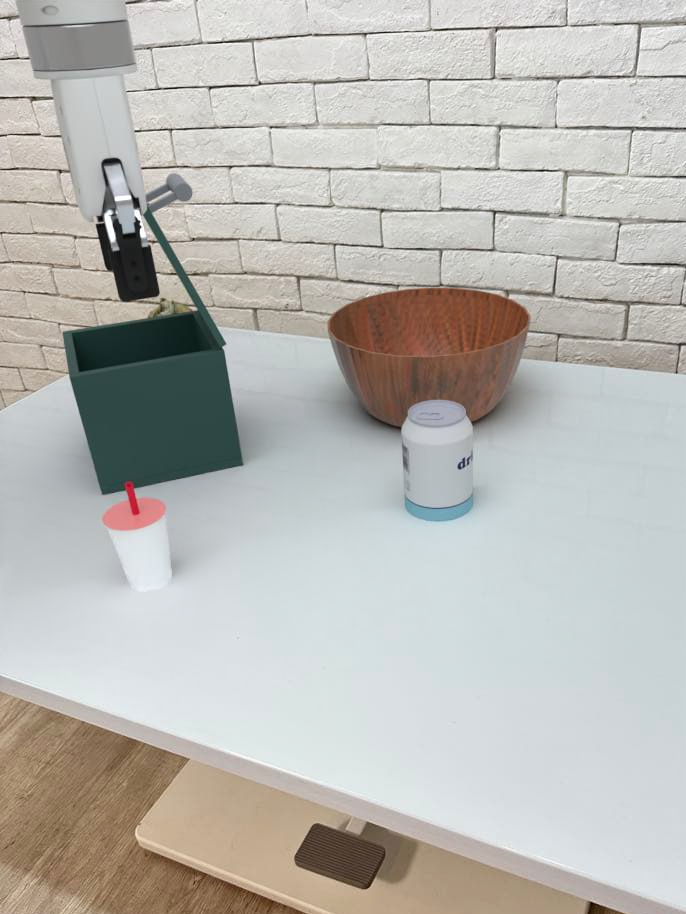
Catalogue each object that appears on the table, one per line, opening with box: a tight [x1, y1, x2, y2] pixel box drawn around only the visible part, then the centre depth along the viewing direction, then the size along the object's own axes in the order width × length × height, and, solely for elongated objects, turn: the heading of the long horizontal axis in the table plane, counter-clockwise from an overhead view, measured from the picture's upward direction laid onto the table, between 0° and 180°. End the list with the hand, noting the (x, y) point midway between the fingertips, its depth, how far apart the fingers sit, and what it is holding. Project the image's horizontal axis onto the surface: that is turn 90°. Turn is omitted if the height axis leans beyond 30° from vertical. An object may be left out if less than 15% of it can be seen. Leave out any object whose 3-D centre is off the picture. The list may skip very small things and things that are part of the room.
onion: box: [147, 297, 194, 318], centre depth 131 cm, size 8×8×8 cm
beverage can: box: [400, 400, 474, 523], centre depth 84 cm, size 7×7×12 cm
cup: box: [101, 482, 173, 593], centre depth 76 cm, size 5×5×12 cm
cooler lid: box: [142, 172, 227, 348], centre depth 92 cm, size 17×15×6 cm
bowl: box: [326, 287, 532, 428], centre depth 108 cm, size 25×25×11 cm
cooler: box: [62, 309, 244, 495], centre depth 99 cm, size 16×15×14 cm
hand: (132, 282), depth 73 cm, fingers open, 9 cm apart
